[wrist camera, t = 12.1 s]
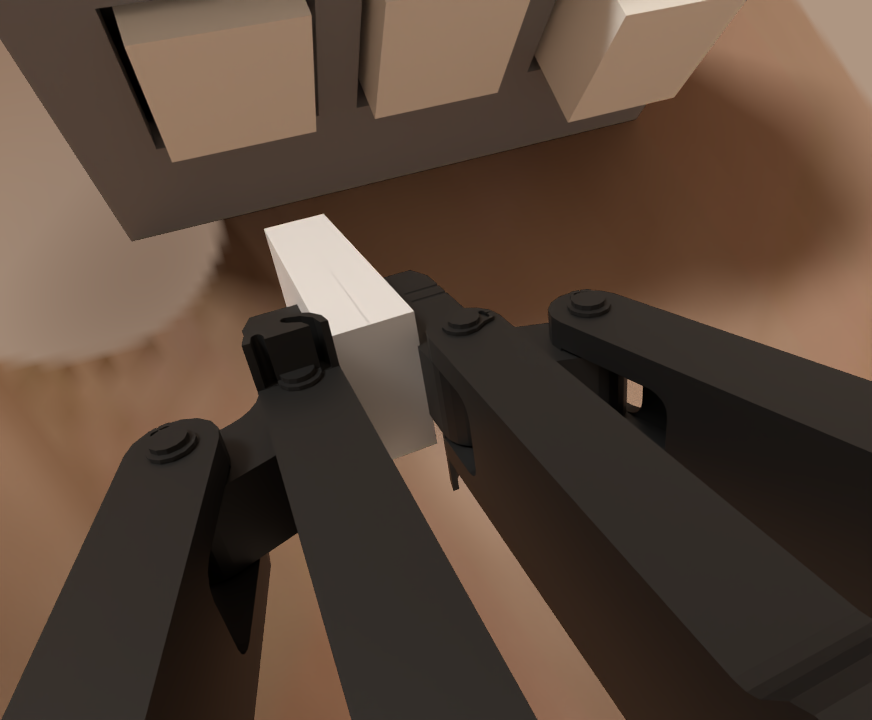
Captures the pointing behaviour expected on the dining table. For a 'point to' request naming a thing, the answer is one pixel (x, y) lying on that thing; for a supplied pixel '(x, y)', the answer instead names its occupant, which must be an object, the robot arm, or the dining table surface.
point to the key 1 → (222, 70)
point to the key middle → (434, 50)
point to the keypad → (276, 160)
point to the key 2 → (626, 50)
